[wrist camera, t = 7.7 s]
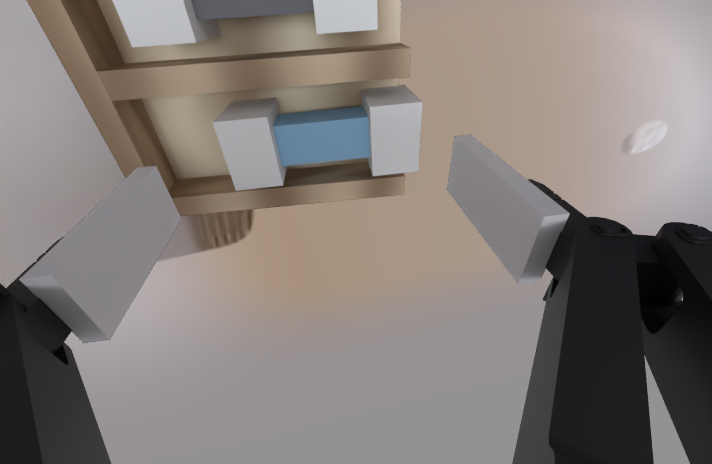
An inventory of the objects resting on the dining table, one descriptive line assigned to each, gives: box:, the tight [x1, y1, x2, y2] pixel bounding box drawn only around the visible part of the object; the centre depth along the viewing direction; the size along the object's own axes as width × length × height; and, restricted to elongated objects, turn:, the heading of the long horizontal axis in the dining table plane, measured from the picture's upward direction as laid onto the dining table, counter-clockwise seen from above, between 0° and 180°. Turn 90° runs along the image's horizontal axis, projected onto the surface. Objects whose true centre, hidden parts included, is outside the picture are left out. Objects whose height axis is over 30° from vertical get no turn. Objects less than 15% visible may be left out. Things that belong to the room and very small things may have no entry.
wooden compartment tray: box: [27, 0, 411, 216], centre depth 17 cm, size 17×16×4 cm
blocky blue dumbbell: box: [212, 85, 422, 191], centre depth 19 cm, size 11×4×4 cm, turn 94°
